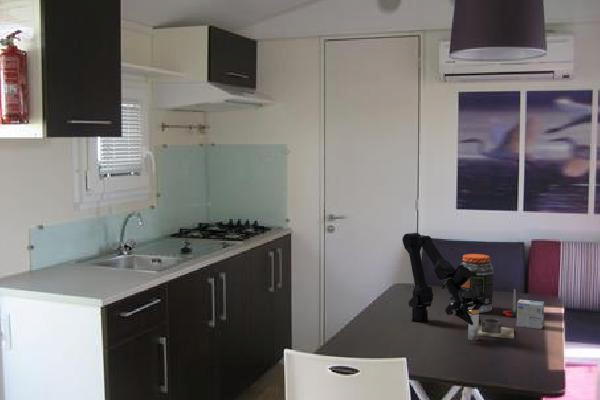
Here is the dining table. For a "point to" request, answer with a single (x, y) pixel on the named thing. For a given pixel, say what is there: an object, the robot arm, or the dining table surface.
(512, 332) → the block
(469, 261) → the supplement tub
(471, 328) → the pin
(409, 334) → the dining table surface
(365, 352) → the dining table surface
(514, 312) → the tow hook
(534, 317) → the light bulb box
